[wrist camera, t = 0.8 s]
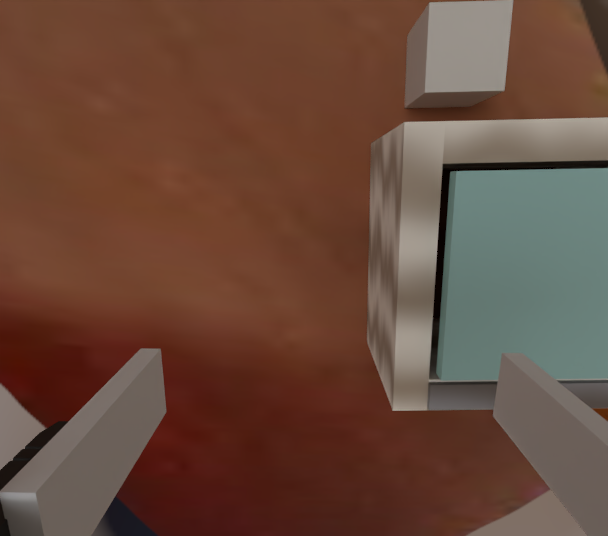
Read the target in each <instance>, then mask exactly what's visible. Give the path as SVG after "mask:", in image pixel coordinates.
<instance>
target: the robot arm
mask: <svg viewBox="0 0 608 536" xmlns="http://www.w3.org/2000/svg"><path fill="white" fill-rule="evenodd" d="M165 413H166V402H165V391H164V380H163V369H162V358H161V349H140V350H139V351H138V352H137V353H136V354H135V355H134V356H133V357H132V358H131V359H130V360H129V361H128V362H127V363H126V364H125V365H124V366H123V367H122V368H121V369H120V370H119V371H118V372H117V373H116V374H115V375H114V376H113V377H112V378H111V379H110V380H109V381H108V382H107V383H106V384H105V385H104V386H103V387H102V388H101V389H100V390H99V391H98V392H97V393H96V394H95V396H94V397H93V398H92V399H91V400H90V401H89V402H88V403H87V404H86V405H85V406H84V407H83V408H82V409H81V410H80V411H79V412H78V413H77V414H76V415H75V416H74V417H73V418H72V419H71V420H70V421H69V422H67V421H59V422H57V423H55V424H54V425H52V426H50V427H49V428H47V429H45V430H44V431H42V432H41V433H39V434H38V435H37V436H36V437H35V438H34V439H33V440H32V441H31V442H30V443H29V444H28V445H26V447H25V449H22V450H21V451H20V452H19V453H18V454H17V455H16V456H15V457H14V458H13V461H10V462H8V464H7V465H5V466H4V467H3V468H2V469H1V470H0V536H91V535H92V533H93V532H94V530H95V528H96V527H97V525H98V523H99V522H100V520H101V518H102V517H103V515H104V514H105V512H106V510H107V509H108V507H109V505H110V504H111V502H112V500H113V499H114V497H115V495H116V494H117V492H118V490H119V489H120V487H121V486H122V484H123V482H124V481H125V479H126V477H127V476H128V474H129V472H130V471H131V469H132V467H133V466H134V464H135V463H136V461H137V459H138V458H139V456H140V454H141V453H142V451H143V449H144V448H145V446H146V444H147V443H148V441H149V440H150V438H151V436H152V435H153V433H154V431H155V430H156V428H157V426H158V425H159V423H160V421H161V420H162V418H163V417H164V415H165ZM493 417H494V418H495V419H496V421H497V422H498V423H499V424H500V426H501V427H502V428H503V429H504V431H505V432H506V433H507V435H508V436H509V437H510V438H511V440H512V441H513V442H514V443H515V445H516V446H517V447H518V448H519V450H520V451H521V452H522V454H523V455H524V456H525V457H526V459H527V460H528V461H529V462H530V464H531V465H532V466H533V467H534V469H535V470H536V471H537V472H538V474H539V475H540V476H541V478H542V479H543V480H544V481H545V483H546V484H547V485H548V486H549V488H550V489H551V490H552V491H553V493H554V494H555V495H556V497H557V498H558V499H559V500H560V502H561V503H562V504H563V505H564V507H565V508H566V509H567V510H568V512H569V513H570V514H571V516H572V517H573V518H574V519H575V521H576V522H577V523H578V524H579V525H580V527H581V528H582V529H583V531H584V532H585V533H586V534H587V536H608V421H606V420H605V419H604V418H603V417H601V416H600V415H599V414H598V413H596V412H595V411H594V410H593V409H591V408H590V407H589V406H588V405H586V404H585V403H584V402H583V401H581V400H580V399H579V398H578V397H576V396H575V395H574V394H573V393H571V392H570V391H569V390H568V389H566V388H565V387H564V386H563V385H561V384H560V383H559V382H558V381H556V380H555V379H554V378H553V377H551V376H550V375H549V374H548V373H546V372H545V371H544V370H543V369H541V368H540V367H539V366H538V365H536V364H535V363H534V362H533V361H531V360H530V359H529V358H528V357H526V356H525V355H524V354H523V353H502V357H501V363H500V370H499V377H498V384H497V390H496V397H495V404H494V410H493Z"/></svg>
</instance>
